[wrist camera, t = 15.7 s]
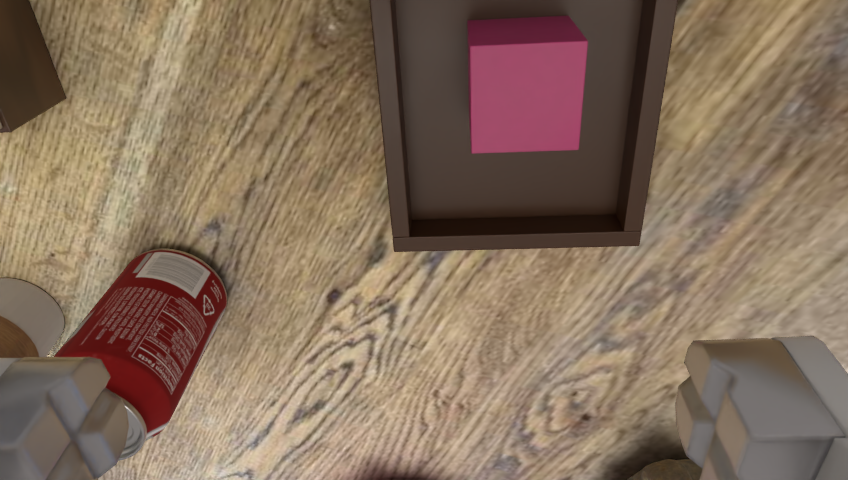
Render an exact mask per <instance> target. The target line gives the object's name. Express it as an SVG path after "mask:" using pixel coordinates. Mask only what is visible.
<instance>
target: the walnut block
mask: <svg viewBox="0 0 848 480" xmlns="http://www.w3.org/2000/svg"><path fill="white" fill-rule="evenodd" d="M64 99H66V97H65V95H64V92H63V90H62V87H61V84H60V82H59V79H58V76H57V74H56V71H55V69H54V66H53V63H52V61H51V58H50V55H49V53H48V50H47V48H46V45H45V42H44V40H43V37H42V34H41V32H40V29H39V27H38V24H37V21H36V19H35V16H34V13H33V11H32V8H31V6H30V3H29V0H0V122H1V124H2V126H3V128H2V129H0V133H2V132H12V131H14V130H15V129H17V128H18V127H20V126H22V125H23V124H25V123H27V122H28V121H30V120H32V119H33V118H35V117H37V116H38V115H40V114H41V113H43V112H45V111H46V110H48V109H50V108H51V107H53V106H55V105H56V104H58V103H60V102H61V101H63V100H64Z"/></svg>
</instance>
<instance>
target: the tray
mask: <svg viewBox="0 0 848 480" xmlns="http://www.w3.org/2000/svg"><path fill="white" fill-rule="evenodd" d="M677 3H678V0H370V10H371V20H372V30H373V40H374V51H375V61H376V71H377V81H378V92H379V102H380V112H381V122H382V133H383V143H384V153H385V163H386V173H387V184H388V194H389V204H390V214H391V225H392V235H393V245H394V252H408V251H449V250H489V249H530V248H571V247H611V246H639V244H640V237H641V231H642V225H643V219H644V212H645V206H646V200H647V193H648V187H649V181H650V174H651V168H652V162H653V155H654V149H655V143H656V136H657V130H658V124H659V117H660V111H661V105H662V98H663V92H664V86H665V79H666V73H667V67H668V60H669V54H670V48H671V41H672V35H673V29H674V22H675V16H676V10H677ZM550 16H569V17H570V18H571V19H572V21H573V22H574V23H575V25H576V26H577V27H578V28H579V30H580V31H581V32H582V34H583V35H584V36H585V38H586V39H587V40H588V50H587V61H586V73H585V84H584V95H583V107H582V118H581V130H580V141H579V149H578V150H562V151H532V152H503V153H474V154H472V153H471V141H470V125H469V92H468V31H467V21H468V20H488V19H509V18H529V17H550Z"/></svg>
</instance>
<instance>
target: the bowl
mask: <svg viewBox="0 0 848 480" xmlns="http://www.w3.org/2000/svg"><path fill="white" fill-rule="evenodd" d="M702 470H703V469H702V468H701V467H700V466H698V465H697V464H696V463H695V462H693V461H692V460H691V459H683V460H673V459H666V460H662V461H659V462H655V463H651V464H649V465H647V466H645V467H644V468H643V469H642V470H640V471H639V472H637V473H636V474H634V475H633V476H631V477H630V478H628V479H626V480H700V477H701V473H702Z"/></svg>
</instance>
